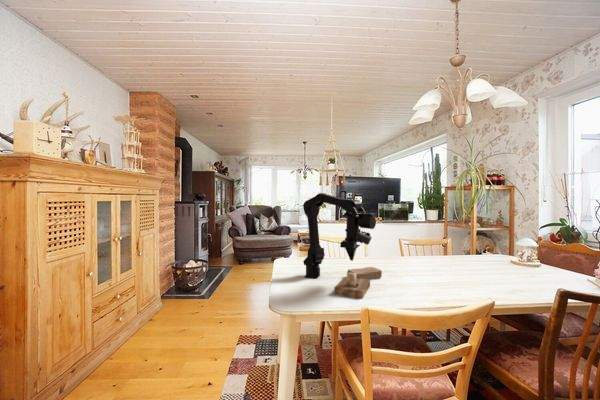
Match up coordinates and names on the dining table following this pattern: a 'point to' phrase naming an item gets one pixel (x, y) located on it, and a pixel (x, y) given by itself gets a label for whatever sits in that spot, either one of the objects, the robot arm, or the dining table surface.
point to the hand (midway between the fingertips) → (351, 260)
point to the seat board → (352, 288)
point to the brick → (367, 273)
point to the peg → (351, 280)
